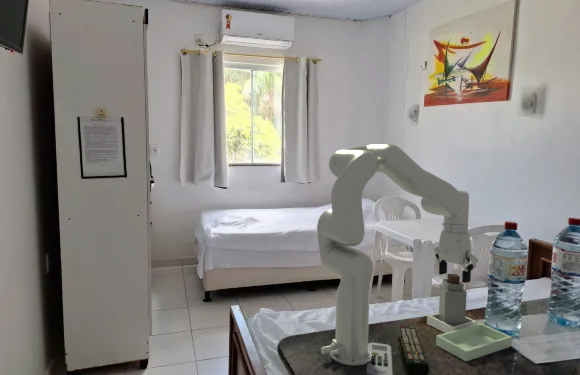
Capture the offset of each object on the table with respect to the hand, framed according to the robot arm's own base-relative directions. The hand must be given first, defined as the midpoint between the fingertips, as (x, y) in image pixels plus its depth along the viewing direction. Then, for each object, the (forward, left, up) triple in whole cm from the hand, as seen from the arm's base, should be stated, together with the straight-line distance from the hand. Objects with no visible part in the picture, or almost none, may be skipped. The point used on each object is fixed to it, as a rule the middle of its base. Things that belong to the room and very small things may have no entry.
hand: (454, 277), depth 138 cm
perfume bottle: (0, 0, -17) cm, 17 cm away
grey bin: (0, 0, -17) cm, 17 cm away
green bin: (-5, -13, -17) cm, 22 cm away
